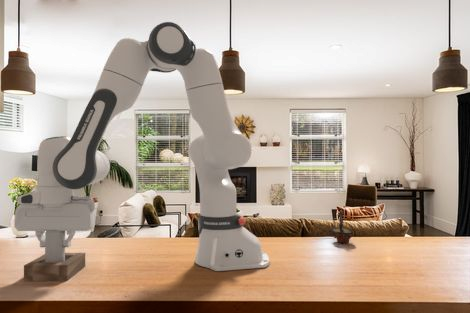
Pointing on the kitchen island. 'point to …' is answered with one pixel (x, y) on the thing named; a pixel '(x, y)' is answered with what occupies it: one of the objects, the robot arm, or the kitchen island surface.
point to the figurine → (341, 231)
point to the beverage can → (54, 246)
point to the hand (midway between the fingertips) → (55, 246)
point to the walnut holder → (54, 268)
